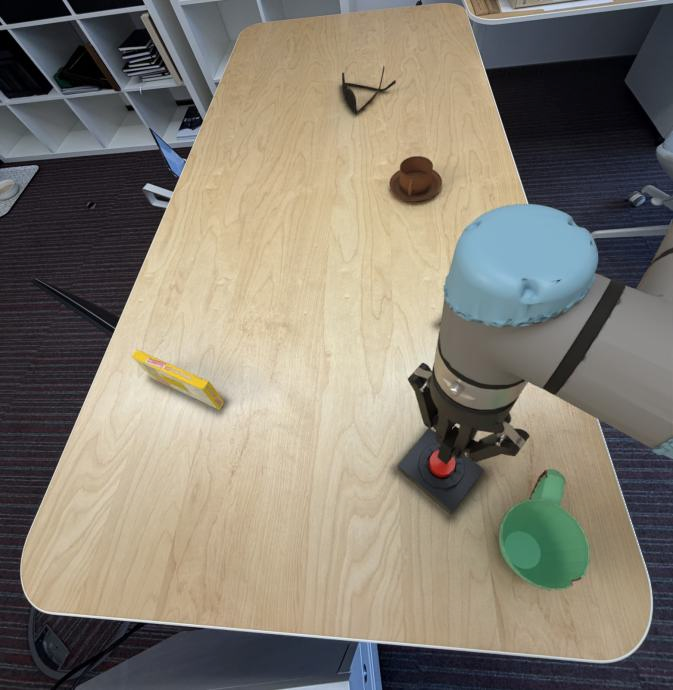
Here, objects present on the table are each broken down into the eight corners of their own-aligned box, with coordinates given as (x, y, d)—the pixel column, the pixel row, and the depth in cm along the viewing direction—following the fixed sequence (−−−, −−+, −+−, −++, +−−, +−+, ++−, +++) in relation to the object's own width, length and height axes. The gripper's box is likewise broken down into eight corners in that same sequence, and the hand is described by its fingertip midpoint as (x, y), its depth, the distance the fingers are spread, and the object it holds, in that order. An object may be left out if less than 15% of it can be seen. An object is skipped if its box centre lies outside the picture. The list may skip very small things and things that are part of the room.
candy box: (226, 400, 74) (209, 380, 67) (220, 410, 73) (201, 391, 66) (159, 369, 79) (136, 348, 72) (152, 378, 78) (128, 357, 71)
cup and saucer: (444, 204, 94) (447, 180, 89) (391, 208, 95) (391, 186, 90) (437, 170, 100) (440, 147, 95) (387, 175, 101) (387, 152, 96)
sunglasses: (400, 104, 116) (401, 86, 112) (351, 116, 116) (349, 98, 112) (384, 76, 125) (384, 58, 121) (338, 87, 125) (336, 69, 121)
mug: (552, 605, 53) (583, 607, 45) (476, 569, 56) (491, 565, 48) (571, 497, 60) (601, 481, 51) (502, 470, 63) (520, 451, 54)
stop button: (458, 464, 60) (460, 460, 59) (444, 482, 59) (445, 480, 58) (438, 448, 62) (439, 444, 60) (423, 466, 61) (424, 463, 59)
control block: (481, 473, 63) (487, 466, 59) (450, 514, 60) (454, 510, 57) (428, 432, 67) (430, 423, 64) (397, 469, 65) (397, 462, 61)
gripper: (390, 359, 37) (391, 443, 57) (524, 454, 31) (473, 510, 51) (440, 306, 39) (425, 404, 59) (574, 385, 33) (507, 464, 53)
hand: (447, 453), depth 55 cm, fingers closed
